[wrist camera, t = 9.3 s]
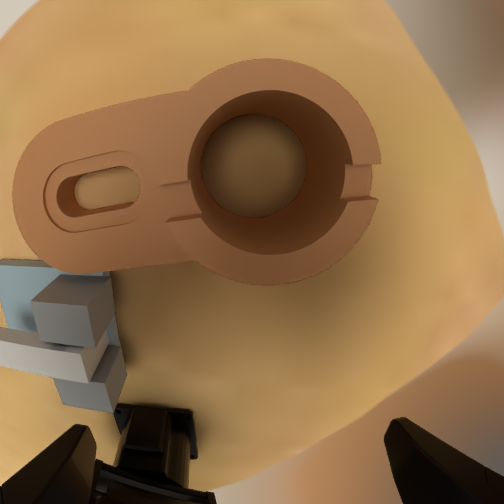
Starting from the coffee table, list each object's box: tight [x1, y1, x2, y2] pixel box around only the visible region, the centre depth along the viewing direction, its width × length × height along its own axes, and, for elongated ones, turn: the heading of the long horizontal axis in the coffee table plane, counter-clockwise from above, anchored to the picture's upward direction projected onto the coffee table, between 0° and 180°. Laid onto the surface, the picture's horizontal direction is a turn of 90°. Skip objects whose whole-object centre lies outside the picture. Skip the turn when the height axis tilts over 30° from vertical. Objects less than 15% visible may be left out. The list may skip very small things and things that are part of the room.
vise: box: [0, 259, 127, 413], centre depth 16 cm, size 8×10×5 cm
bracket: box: [12, 59, 381, 285], centre depth 14 cm, size 18×8×7 cm, turn 96°
